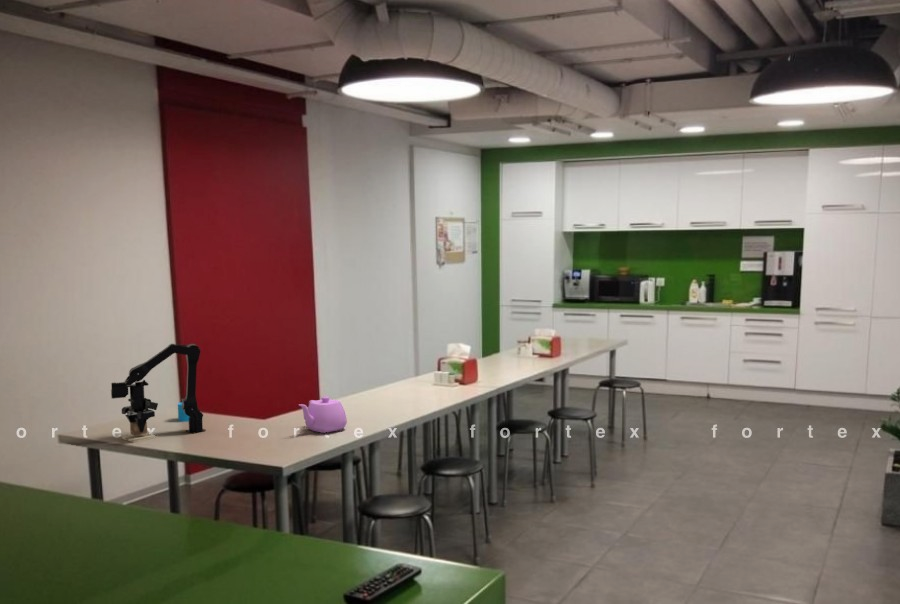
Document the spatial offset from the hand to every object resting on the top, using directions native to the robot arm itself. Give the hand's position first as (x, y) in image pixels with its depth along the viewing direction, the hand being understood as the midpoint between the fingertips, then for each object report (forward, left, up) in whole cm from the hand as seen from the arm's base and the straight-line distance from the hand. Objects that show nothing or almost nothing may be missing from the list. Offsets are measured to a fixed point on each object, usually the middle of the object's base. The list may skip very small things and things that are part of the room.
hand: (138, 431), depth 314 cm
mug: (+17, -34, -3) cm, 38 cm away
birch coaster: (0, 0, -3) cm, 3 cm away
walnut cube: (0, 0, -1) cm, 1 cm away
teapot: (-55, -59, -3) cm, 81 cm away
